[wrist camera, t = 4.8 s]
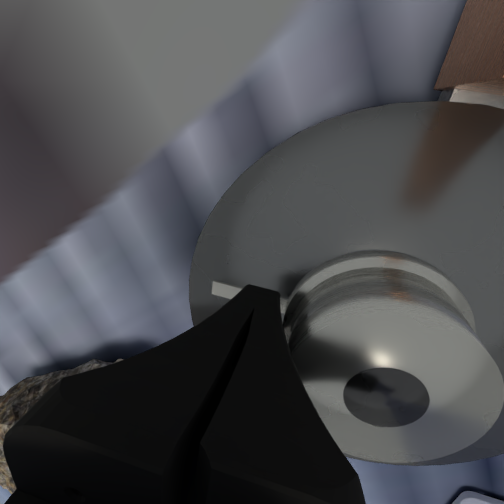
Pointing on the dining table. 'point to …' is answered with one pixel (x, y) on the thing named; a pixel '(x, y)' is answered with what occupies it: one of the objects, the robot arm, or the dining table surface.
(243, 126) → the dining table surface
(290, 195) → the turntable
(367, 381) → the cover
